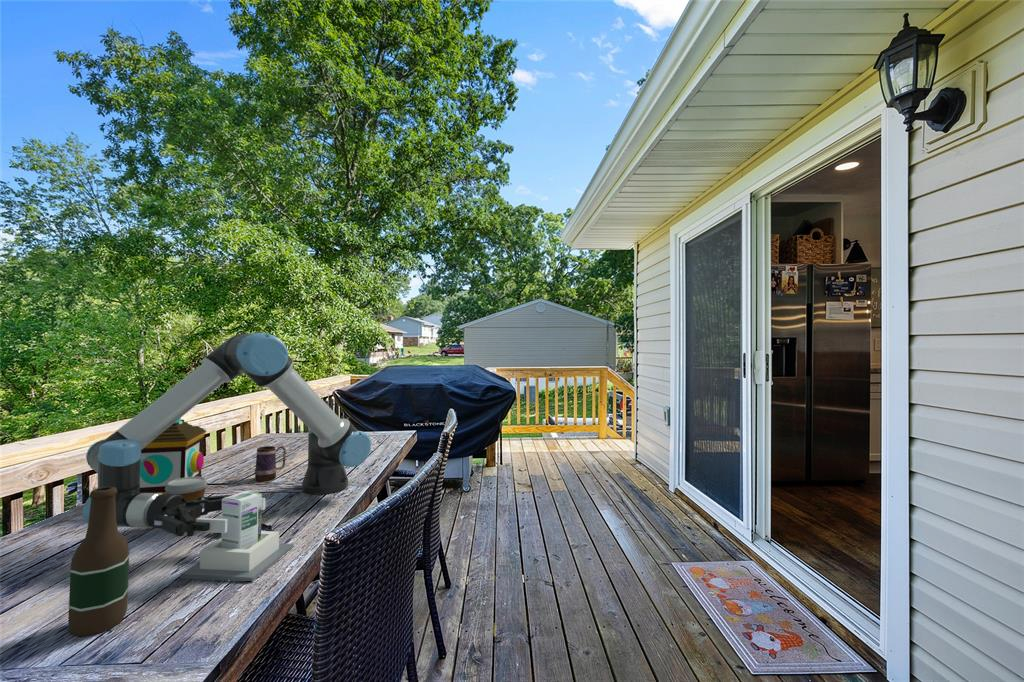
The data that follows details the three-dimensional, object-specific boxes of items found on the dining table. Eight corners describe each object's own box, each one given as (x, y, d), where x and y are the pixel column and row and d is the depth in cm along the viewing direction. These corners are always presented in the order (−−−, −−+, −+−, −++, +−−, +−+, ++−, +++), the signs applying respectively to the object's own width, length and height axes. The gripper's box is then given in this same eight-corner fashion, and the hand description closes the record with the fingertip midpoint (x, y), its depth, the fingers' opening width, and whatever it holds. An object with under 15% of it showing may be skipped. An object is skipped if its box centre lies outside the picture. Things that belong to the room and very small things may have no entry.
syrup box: (239, 566, 99) (241, 500, 99) (219, 561, 101) (221, 497, 101) (261, 555, 105) (263, 492, 105) (242, 551, 107) (244, 489, 107)
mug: (254, 483, 161) (255, 449, 162) (253, 478, 167) (254, 445, 168) (286, 479, 167) (287, 446, 167) (284, 474, 173) (285, 443, 173)
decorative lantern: (211, 489, 153) (214, 402, 154) (190, 510, 134) (193, 410, 135) (140, 494, 147) (143, 403, 147) (108, 516, 128) (111, 411, 128)
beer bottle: (93, 611, 83) (98, 482, 84) (138, 610, 84) (142, 482, 84) (54, 638, 76) (60, 495, 76) (103, 637, 76) (109, 495, 77)
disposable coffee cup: (183, 533, 118) (185, 487, 118) (154, 529, 120) (155, 484, 120) (214, 520, 127) (215, 477, 127) (186, 516, 129) (188, 475, 129)
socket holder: (231, 545, 112) (232, 525, 112) (293, 548, 111) (294, 528, 111) (180, 578, 96) (180, 554, 96) (252, 582, 95) (253, 558, 95)
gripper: (197, 507, 117) (277, 511, 115) (106, 551, 92) (206, 555, 91) (198, 478, 117) (278, 481, 116) (107, 514, 92) (207, 518, 91)
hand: (246, 514), depth 103 cm, fingers open, 13 cm apart
